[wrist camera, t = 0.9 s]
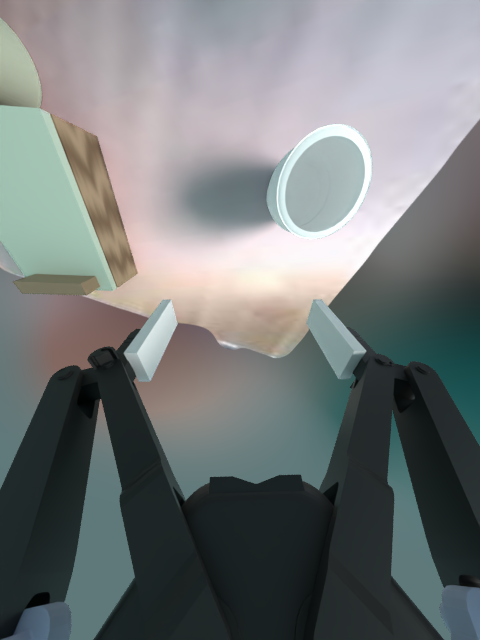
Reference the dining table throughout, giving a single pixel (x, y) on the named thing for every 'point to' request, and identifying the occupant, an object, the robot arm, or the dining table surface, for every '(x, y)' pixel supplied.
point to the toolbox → (97, 197)
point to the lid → (45, 210)
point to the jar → (321, 182)
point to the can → (17, 72)
